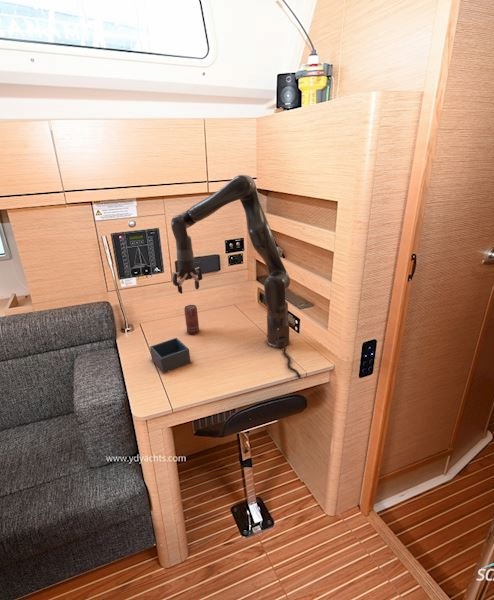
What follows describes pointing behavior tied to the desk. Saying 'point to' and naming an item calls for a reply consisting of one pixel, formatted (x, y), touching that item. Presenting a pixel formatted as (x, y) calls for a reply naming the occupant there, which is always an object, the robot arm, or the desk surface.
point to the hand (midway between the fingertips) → (189, 291)
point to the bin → (170, 355)
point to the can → (191, 319)
